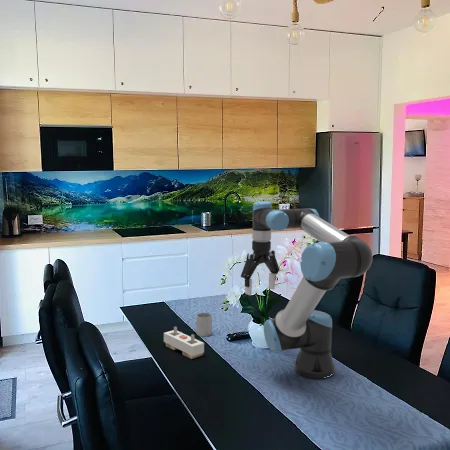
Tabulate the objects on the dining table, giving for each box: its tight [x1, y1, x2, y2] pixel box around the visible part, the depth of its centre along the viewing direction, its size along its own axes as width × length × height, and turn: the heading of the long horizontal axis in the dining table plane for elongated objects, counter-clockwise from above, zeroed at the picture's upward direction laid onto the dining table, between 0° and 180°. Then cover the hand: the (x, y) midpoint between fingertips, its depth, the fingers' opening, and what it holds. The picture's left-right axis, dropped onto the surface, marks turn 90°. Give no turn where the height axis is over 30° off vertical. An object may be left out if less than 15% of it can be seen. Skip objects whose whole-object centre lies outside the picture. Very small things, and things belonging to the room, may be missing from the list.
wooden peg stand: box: [165, 326, 204, 360], centre depth 206 cm, size 18×6×8 cm, turn 42°
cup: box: [195, 312, 213, 337], centre depth 227 cm, size 7×10×9 cm
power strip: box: [163, 329, 205, 356], centre depth 206 cm, size 20×6×5 cm, turn 42°
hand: (260, 291), depth 200 cm, fingers open, 13 cm apart
